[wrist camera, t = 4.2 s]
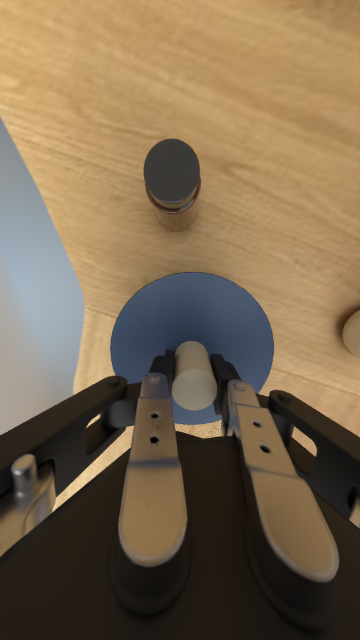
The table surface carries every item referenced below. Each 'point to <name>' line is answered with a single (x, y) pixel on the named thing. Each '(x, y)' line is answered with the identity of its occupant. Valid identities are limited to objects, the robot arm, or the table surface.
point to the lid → (193, 338)
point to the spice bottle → (173, 183)
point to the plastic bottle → (352, 334)
